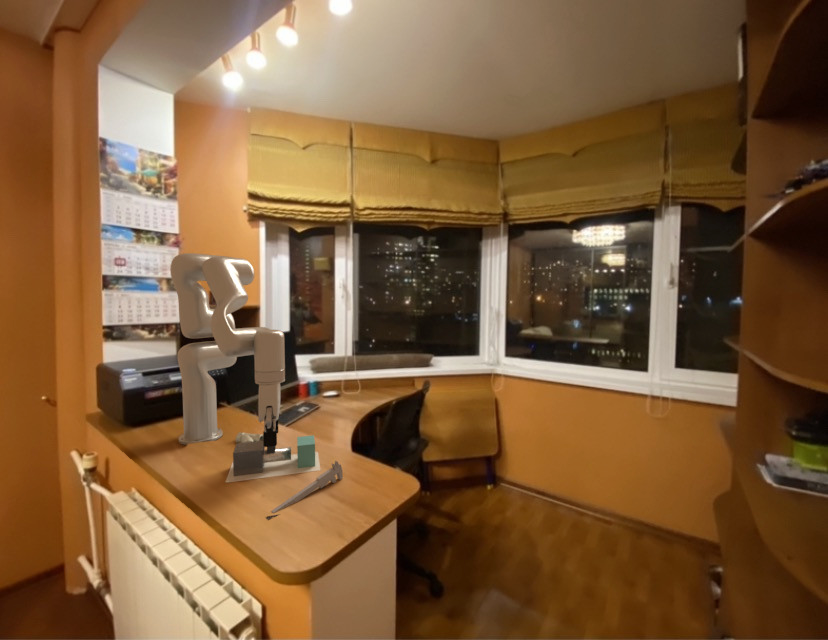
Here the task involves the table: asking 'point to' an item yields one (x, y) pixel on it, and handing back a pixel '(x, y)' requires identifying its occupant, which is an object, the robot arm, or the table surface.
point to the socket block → (306, 451)
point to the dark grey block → (248, 458)
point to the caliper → (313, 486)
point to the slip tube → (276, 454)
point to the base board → (276, 469)
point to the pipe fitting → (248, 437)
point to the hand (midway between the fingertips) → (271, 439)
